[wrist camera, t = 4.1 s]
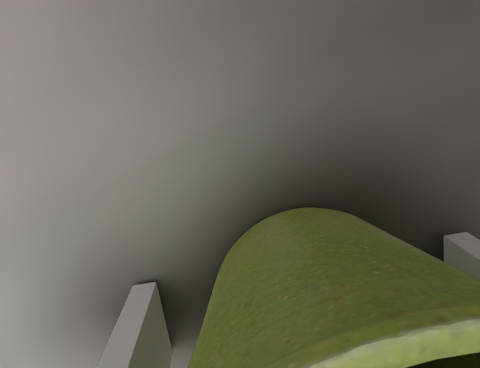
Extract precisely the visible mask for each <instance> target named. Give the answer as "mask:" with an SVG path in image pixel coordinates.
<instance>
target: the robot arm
mask: <svg viewBox="0 0 480 368" xmlns="http://www.w3.org/2000/svg"><path fill="white" fill-rule="evenodd" d="M444 262H445V263H447V264H449V265H451V266H453V267H455V268H457V269H459V270H461V271H463V272H465V273H467V274H469V275H471V276H473V277H475V278H477V279H479V280H480V240H479V239H478V238H476V237H474V236H473V235H471V234H469V233H468V232H463V233H457V234H451V235H444ZM172 354H173V352H172V348H171V344H170V339H169V335H168V331H167V326H166V322H165V318H164V314H163V309H162V305H161V301H160V296H159V292H158V288H157V283H156V282H151V283H145V284H139V285H133V286H132V288H131V291H130V293H129V295H128V298H127V300H126V302H125V304H124V307H123V309H122V311H121V313H120V316H119V318H118V320H117V322H116V325H115V327H114V329H113V331H112V334H111V336H110V338H109V341H108V343H107V345H106V347H105V350H104V352H103V354H102V356H101V359H100V361H99V363H98V365H97V368H170V365H171V360H172Z"/></svg>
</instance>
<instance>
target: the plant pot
mask: <svg viewBox="0 0 480 368" xmlns="http://www.w3.org/2000/svg"><path fill="white" fill-rule="evenodd" d="M188 368H480V280H479V279H477V278H475V277H473V276H471V275H469V274H467V273H465V272H463V271H461V270H459V269H457V268H455V267H453V266H451V265H449V264H447V263H445V262H443V261H441V260H439V259H437V258H435V257H433V256H431V255H429V254H427V253H426V252H424V251H422V250H420V249H418V248H416V247H414V246H412V245H410V244H408V243H406V242H404V241H402V240H400V239H398V238H396V237H394V236H393V235H391V234H389V233H387V232H385V231H383V230H381V229H379V228H377V227H375V226H373V225H371V224H370V223H368V222H366V221H364V220H362V219H360V218H358V217H356V216H354V215H352V214H349V213H346V212H342V211H338V210H332V209H324V208H309V207H307V208H296V209H290V210H286V211H283V212H280V213H277V214H274V215H272V216H270V217H267V218H266V219H264V220H262V221H260V222H259V223H257V224H255V225H254V226H253V227H251V228H250V229H249V230H248V231H246V232H245V233H244V234H243V235H242V236H241V237H240V238H239V239H238V240H237V241H236V243H235V244H234V245H233V246H232V248H231V249H230V250H229V252H228V253H227V255H226V257H225V259H224V261H223V262H222V265H221V267H220V270H219V272H218V274H217V278H216V281H215V284H214V288H213V291H212V294H211V298H210V301H209V304H208V308H207V311H206V314H205V318H204V321H203V324H202V327H201V330H200V334H199V337H198V340H197V343H196V346H195V349H194V352H193V355H192V358H191V361H190V364H189V367H188Z"/></svg>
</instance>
